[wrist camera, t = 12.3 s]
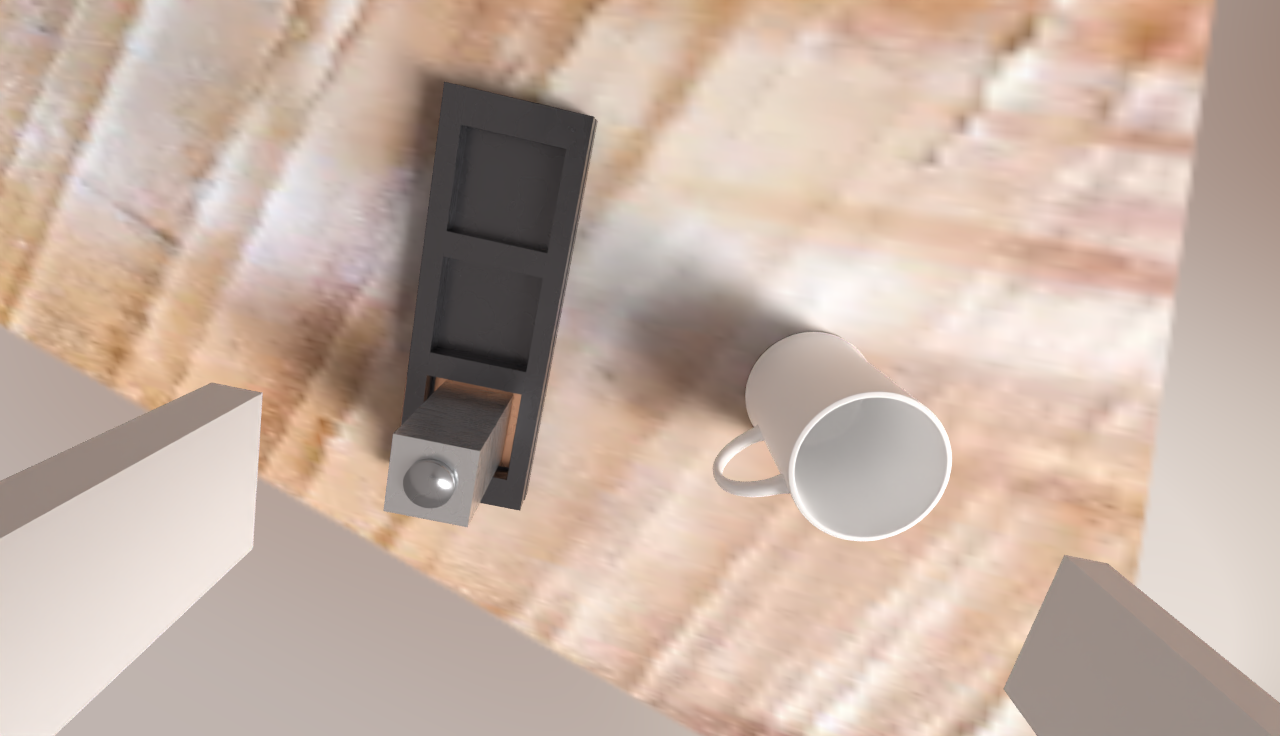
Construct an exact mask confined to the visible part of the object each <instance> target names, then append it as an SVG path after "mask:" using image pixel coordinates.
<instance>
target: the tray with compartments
mask: <svg viewBox="0 0 1280 736" xmlns="http://www.w3.org/2000/svg"><path fill="white" fill-rule="evenodd" d="M597 122H598V121H597V120H596V119H595V118H594V117H592V116H588V115H584V114H580V113H575V112H571V111H567V110H563V109H558V108H554V107H550V106H546V105H541V104H537V103H533V102H529V101H524V100H520V99H516V98H512V97H507V96H503V95H499V94H494V93H490V92H486V91H482V90H477V89H473V88H469V87H465V86H460V85H456V84H452V83H448V82H444V88H443V96H442V104H441V112H440V120H439V128H438V136H437V144H436V152H435V160H434V168H433V175H432V183H431V191H430V199H429V207H428V215H427V223H426V231H425V239H424V247H423V254H422V262H421V270H420V278H419V286H418V294H417V302H416V310H415V318H414V326H413V334H412V341H411V349H410V357H409V365H408V373H407V378H406V386H405V394H404V402H403V409H402V417H401V425H402V424H403V423H404V422H405V421H406V420H407V419H408V418H409V417H410V416H411V415H412V414H413V413H414V412H415V411H416V410H417V409H418V408H419V407H420V406H421V405H422V404H423V403H424V402H425V401H426V400H427V399H428V398H429V397H430V396H431V395H432V394H433V393H434V392H435V391H436V390H437V389H438V388H439V387H440V386H441V385H442V384H443V383H444V382H447V383H452V384H457V385H461V386H466V387H471V388H476V389H481V390H486V391H491V392H495V393H500V394H505V395H510V396H513V398H512V404H511V410H510V415H509V421H508V427H507V432H506V438H505V444H504V450H503V455H502V459H501V461H500V463H499V465H498V467H497V469H496V471H495V473H494V475H493V477H492V479H491V481H490V483H489V485H488V487H487V489H486V491H485V493H484V495H483V497H482V499H481V501H480V503H484V504H489V505H494V506H500V507H505V508H510V509H515V510H520V509H521V506H522V504H523V501H524V500H525V497H526V495H527V491H528V485H529V480H530V475H531V470H532V464H533V459H534V454H535V448H536V443H537V438H538V433H539V427H540V422H541V417H542V412H543V406H544V401H545V396H546V390H547V385H548V380H549V375H550V369H551V364H552V359H553V354H554V348H555V343H556V338H557V332H558V327H559V322H560V317H561V311H562V306H563V301H564V296H565V290H566V285H567V280H568V274H569V269H570V264H571V259H572V253H573V248H574V243H575V238H576V232H577V227H578V222H579V216H580V211H581V206H582V201H583V195H584V190H585V185H586V180H587V174H588V169H589V164H590V158H591V153H592V148H593V143H594V137H595V132H596V127H597ZM401 425H400V426H401Z"/></svg>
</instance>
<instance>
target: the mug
mask: <svg viewBox="0 0 1280 736" xmlns="http://www.w3.org/2000/svg"><path fill="white" fill-rule="evenodd" d="M745 402H746V409H747V413H748V416H749V419H750V421H751V423H752V425H753V426H754V427H753V428H752V429H750V430H748V431H746V432H745V433H743V434H741V435H740V436H738V437H736V438H735V439H734V440H732V441H731V442H730V443H728V444H727V445H726V446H725V447H724V448H723V449H722V450H721V451H720V453H719V454H718V455H717V457H716V459H715V461H714V464H713V475H714V478H715V480H716V482H717V484H718V485H719V486H720V487H721V488H722V489H723V490H725V491H726V492H728V493H731V494H734V495H737V496H744V497H763V496H771V495H777V494H789V493H790V494H791V496H792V498H793V500H794V502H795V504H796V506H797V507H798V509H799V510H800V512H801V513H802V514H803V516H804V517H805V518H806V519H807V520H808V521H809V522H810V523H811V524H813V525H814V526H815V527H817V528H818V529H820V530H821V531H823V532H825V533H827V534H829V535H832V536H834V537H837V538H841V539H845V540H851V541H873V540H879V539H884V538H888V537H891V536H894V535H896V534H899V533H901V532H903V531H905V530H907V529H909V528H911V527H912V526H914V525H915V524H917V523H918V522H919V521H921V520H922V519H923V518H924V517H925V516H926V515H927V514H928V513H929V512H930V511H931V510H932V509H933V508H934V506H935V505H936V504H937V502H938V501H939V500H940V498H941V496H942V494H943V493H944V491H945V488H946V486H947V483H948V480H949V477H950V473H951V466H952V452H951V446H950V442H949V438H948V435H947V433H946V431H945V429H944V427H943V425H942V424H941V422H940V421H939V419H938V418H937V417H936V416H935V415H934V414H933V413H932V412H931V411H930V410H929V409H928V408H927V407H926V406H925V405H923V404H922V403H921V402H920V401H918V400H917V399H916V398H914V397H913V396H912V395H910V394H909V393H908V392H907V391H905V390H904V389H903V388H901V387H900V386H899V385H898V384H896V383H895V382H894V381H892V380H891V379H890V378H889V377H887V376H886V375H885V374H883V373H882V372H881V371H879V370H878V369H877V368H876V367H874V366H873V365H872V364H870V363H869V362H868V361H867V360H866V359H865V357H864V356H863V355H862V353H861V352H860V351H859V350H858V349H857V348H856V347H855V346H854V345H852V344H851V343H850V342H848V341H846V340H845V339H843V338H841V337H838V336H836V335H833V334H829V333H824V332H804V333H798V334H795V335H791V336H789V337H786V338H784V339H782V340H780V341H778V342H777V343H775V344H774V345H772V346H771V347H770V348H769V349H767V350H766V351H765V352H764V353H763V354H762V355H761V357H760V358H759V359H758V360H757V362H756V363H755V365H754V367H753V368H752V370H751V372H750V375H749V378H748V381H747V385H746V391H745ZM760 441H765V443H766V445H767V447H768V449H769V451H770V453H771V455H772V457H773V459H774V461H775V463H776V465H777V468H778V470H779V472H780V474H779V475H777V476H775V477H772V478H769V479H765V480H760V481H751V482H741V481H733V480H730V479H727V478H725V477H724V476H723V475H722V472H723V469H724V467H725V465H726V464H727V463H728V461H729V460H730V459H731V458H732V457H733V456H735V455H736V454H737V453H738V452H740V451H741V450H743V449H744V448H746V447H748V446H750V445H752V444H754V443H757V442H760Z"/></svg>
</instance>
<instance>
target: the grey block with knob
mask: <svg viewBox="0 0 1280 736" xmlns="http://www.w3.org/2000/svg"><path fill="white" fill-rule="evenodd" d="M512 398H513V396H510V395H505V394H500V393H495V392H491V391H486V390H481V389H476V388H471V387H466V386H461V385H457V384H452V383H447V382H444V383H443V384H442V385H441V386H440V387H439V388H438V389H437V390H436V391H435V392H434V393H433V394H432V395H431V396H430V397H429V398H428V399H427V400H426V401H425V402H424V403H423V404H422V405H421V406H420V407H419V408H418V409H417V410H416V411H415V412H414V413H413V414H412V415H411V416H410V417H409V418H408V419H407V420H406V421H405V422H404V423H403V424H402V425H401V426H400V427H399V428H398V429H397V430H396V431H395V432H394V433H393V439H392V447H391V455H390V463H389V471H388V479H387V487H386V495H385V504H384V511H387V512H392V513H397V514H402V515H407V516H413V517H418V518H423V519H428V520H433V521H438V522H444V523H449V524H454V525H459V526H464V527H468V525H469V523H470V521H471V519H472V517H473V515H474V513H475V511H476V509H477V507H478V505H479V503H480V501H481V499H482V497H483V495H484V493H485V491H486V489H487V487H488V485H489V483H490V481H491V479H492V477H493V475H494V473H495V471H496V469H497V467H498V465H499V463H500V461H501V459H502V455H503V450H504V444H505V438H506V432H507V427H508V421H509V415H510V410H511V404H512Z"/></svg>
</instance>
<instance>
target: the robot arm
mask: <svg viewBox="0 0 1280 736" xmlns="http://www.w3.org/2000/svg"><path fill="white" fill-rule="evenodd" d="M262 395H263V393H261V392H256V391H251V390H246V389H241V388H236V387H231V386H226V385H221V384H216V383H210V384H208V385H206V386H203V387H201V388H199V389H197V390H195V391H193V392H191V393H188V394H186V395H184V396H182V397H180V398H178V399H176V400H173V401H171V402H169V403H167V404H165V405H163V406H160V407H158V408H156V409H154V410H152V411H150V412H148V413H145V414H143V415H141V416H139V417H137V418H135V419H133V420H131V421H128V422H126V423H124V424H122V425H120V426H118V427H115V428H113V429H111V430H109V431H107V432H105V433H102V434H100V435H98V436H96V437H94V438H92V439H90V440H87V441H85V442H83V443H81V444H79V445H77V446H75V447H72V448H70V449H68V450H66V451H64V452H61V453H59V454H57V455H55V456H53V457H51V458H49V459H47V460H44V461H42V462H40V463H38V464H36V465H34V466H31V467H29V468H27V469H25V470H23V471H21V472H19V473H16V474H14V475H12V476H10V477H8V478H6V479H3V480H1V481H0V736H54V735H55V734H56V733H58V732H59V731H60V730H61V729H62V728H63V727H64V726H65V725H66V724H67V723H68V722H69V721H70V720H71V719H72V718H73V717H74V716H76V714H78V713H79V712H80V711H81V710H82V709H83V708H84V707H85V706H86V705H87V704H88V703H89V702H90V701H91V700H93V699H94V698H95V697H96V696H97V695H98V694H99V693H100V692H101V691H102V690H103V689H104V688H105V687H106V686H107V685H108V684H110V683H111V682H112V680H114V679H115V678H116V677H117V676H118V675H119V674H120V673H121V672H122V671H123V670H124V669H125V668H126V667H127V666H128V665H130V664H131V663H132V662H133V661H134V660H135V659H136V658H137V657H138V656H139V655H140V654H141V653H142V652H143V651H145V650H146V649H147V647H149V646H150V645H151V644H152V643H153V642H154V641H155V640H156V639H157V638H158V637H159V636H160V635H161V634H162V633H164V632H165V631H166V630H167V629H168V628H169V627H170V626H171V625H172V624H173V623H174V622H175V621H176V620H177V619H178V618H179V617H181V615H183V614H184V613H185V612H186V611H187V610H188V609H189V608H190V607H191V606H192V605H193V604H194V603H195V602H196V601H197V600H199V598H201V597H202V596H203V595H204V594H205V593H206V592H207V591H208V590H209V589H210V588H211V587H212V586H213V585H214V584H215V583H217V582H218V581H219V580H220V579H221V578H222V577H223V576H224V575H225V574H226V573H227V572H228V571H229V570H230V569H231V568H232V567H233V566H234V565H236V563H238V562H239V561H240V560H241V559H242V558H243V557H244V556H245V555H246V554H247V553H248V552H249V551H250V550H252V549H253V537H254V521H255V506H256V489H257V474H258V458H259V442H260V426H261V410H262ZM1004 690H1005V692H1006V693H1007V695H1008V696H1009V697H1010V699H1011V700H1012V701H1013V703H1014V704H1015V706H1016V707H1017V708H1018V710H1019V711H1020V713H1021V714H1022V715H1023V717H1024V718H1025V719H1026V721H1027V722H1028V724H1029V725H1030V726H1031V728H1032V729H1033V731H1034V732H1035V733H1036V735H1037V736H1280V703H1279V702H1278V701H1277V700H1275V699H1274V698H1273V697H1272V696H1270V695H1269V694H1268V693H1267V692H1266V691H1264V690H1263V689H1262V688H1260V687H1259V686H1258V685H1257V684H1256V683H1254V682H1253V681H1252V680H1250V679H1249V678H1248V677H1247V676H1246V675H1244V674H1243V673H1242V672H1241V671H1240V670H1238V669H1237V668H1236V667H1234V666H1233V665H1232V664H1231V663H1230V662H1228V661H1227V660H1226V659H1225V658H1224V657H1222V656H1221V655H1220V654H1219V653H1217V652H1216V651H1215V650H1214V649H1212V648H1211V647H1210V646H1209V645H1207V644H1206V643H1205V642H1204V641H1203V640H1201V639H1200V638H1199V637H1198V636H1196V635H1195V634H1194V633H1193V632H1191V631H1190V630H1189V629H1188V628H1186V627H1185V626H1184V625H1183V624H1181V623H1180V622H1179V621H1178V620H1177V619H1175V618H1174V617H1173V616H1172V615H1170V614H1169V613H1168V612H1167V611H1165V610H1164V609H1163V608H1162V607H1160V606H1159V605H1158V604H1157V603H1156V602H1154V601H1153V600H1152V599H1151V598H1149V597H1148V596H1147V595H1146V594H1144V593H1143V592H1142V591H1141V590H1140V589H1138V588H1137V587H1136V586H1135V585H1133V584H1132V583H1131V582H1130V581H1128V580H1127V579H1126V578H1125V577H1124V576H1122V575H1121V574H1120V573H1119V572H1117V571H1116V570H1115V569H1114V568H1112V567H1111V566H1110V565H1109V564H1107V563H1102V562H1097V561H1092V560H1087V559H1082V558H1077V557H1072V556H1067V555H1064V557H1063V559H1062V562H1061V564H1060V566H1059V568H1058V570H1057V573H1056V575H1055V577H1054V579H1053V581H1052V584H1051V586H1050V588H1049V590H1048V592H1047V595H1046V597H1045V599H1044V601H1043V603H1042V606H1041V608H1040V610H1039V612H1038V614H1037V616H1036V619H1035V621H1034V623H1033V625H1032V627H1031V630H1030V632H1029V634H1028V636H1027V638H1026V641H1025V643H1024V645H1023V647H1022V649H1021V652H1020V654H1019V656H1018V658H1017V660H1016V663H1015V665H1014V667H1013V669H1012V671H1011V674H1010V676H1009V678H1008V680H1007V682H1006V685H1005V687H1004Z"/></svg>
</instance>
